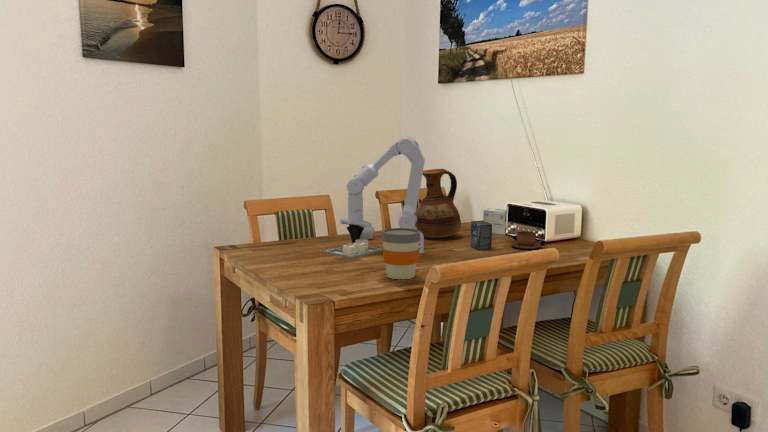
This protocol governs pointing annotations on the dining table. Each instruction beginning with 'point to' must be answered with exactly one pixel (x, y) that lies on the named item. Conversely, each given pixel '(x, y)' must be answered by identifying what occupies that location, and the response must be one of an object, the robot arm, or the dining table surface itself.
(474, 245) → the box
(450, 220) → the ceramic pitcher
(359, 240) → the white small block
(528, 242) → the cup and saucer
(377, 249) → the grey flat tray
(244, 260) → the dining table surface
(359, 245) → the tab middle
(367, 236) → the ceramic mug
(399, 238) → the reusable coffee cup
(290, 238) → the dining table surface
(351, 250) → the tab
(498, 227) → the light bulb box
